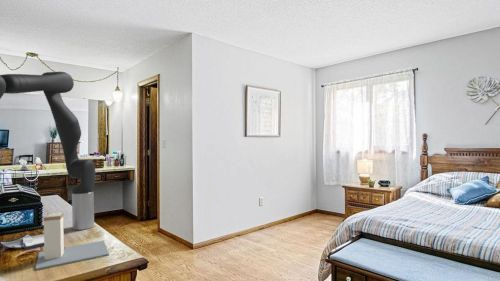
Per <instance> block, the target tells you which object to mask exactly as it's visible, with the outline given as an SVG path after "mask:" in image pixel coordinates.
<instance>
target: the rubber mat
mask: <svg viewBox="0 0 500 281" xmlns="http://www.w3.org/2000/svg"><path fill="white" fill-rule="evenodd" d="M109 255H110V253H109V250H108V248H107V245H106V243H105V240H99V241H93V242H88V243H87V242H86V243H82V244H75V245H70V246H66V247H65V246H64V253H63V255H62V257H61V258H54V259H47V260H45V258H44V250H43V251H39V252H38V256H37V261H36V265H35V271H39V270H44V269H49V268H54V267H58V266H64V265H68V264H73V263H74V264H75V263H78V262H84V261H88V260H93V259H97V258H103V257H107V256H109Z"/></svg>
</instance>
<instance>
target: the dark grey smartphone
mask: <svg viewBox="0 0 500 281" xmlns="http://www.w3.org/2000/svg"><path fill="white" fill-rule="evenodd" d="M29 237H31V238H33V241H32V243H28V242H25V243H24V246H23V248H24V250H25V251H26V250H33V249H36V248H42V247H43V248H44V233H42V234H41V233H40V234H36V235H30V236H29Z"/></svg>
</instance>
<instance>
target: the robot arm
mask: <svg viewBox="0 0 500 281" xmlns="http://www.w3.org/2000/svg"><path fill="white" fill-rule="evenodd" d="M74 84H75V83H74V79H73V77H72V75H71V74H70V73H67V72H65V71H45V72H43V73H42V74H27V73H26V74H25V73H6V74H5V73H4V74H0V100H1V98H2V97H3V95H5V94H11V95H12V94H26V93H34V92H43V94H44V96H45V99H46V102H47V104H48V105H49V108H50V111H51V114H52V117H53V120H54V124H55V127H56V128H55V129H56V131H57V135H58V137H59V140H60V144H61V147H62V148H61V149H62V152H63V157H64V161H65V168H66V172H67V175H68V176H69V177H70V178H72V179H80V182H79V183H78V184H77V185H75V186H73V187H72V188H71V214H72V218H71V219H72V224H71V226H72V230H75V231H82V230H84V231H85V230H88V229H91V228H93V227H94V226H95V207H94V206H95V204H94V203H95V202H94V201H95V196H94V188H95V184H96V164H95V162H94V161H93V160H91V159H80V158H79V155H78V146H79V143H80V141H81V137H82V129H81V125H80V122H79V119H78V118H77V116H76V115H75V114H74V113H73V111H71V109H69V107H68V106H67V105H66V104H65V102H64V100H63V97H62V95H61V94H65V93H66V94H67V93H69V92H71V91H73V90H72V89H73V88H74Z"/></svg>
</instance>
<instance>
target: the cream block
mask: <svg viewBox="0 0 500 281" xmlns="http://www.w3.org/2000/svg"><path fill="white" fill-rule="evenodd" d="M43 234H44V246H43V251H44V258H45V260H47V259H54V258H61V257H62V255H63V253H64V247H65V244H64V241H65V239H64V236H65V234H64V212H58V213H57V212H55V213H48V214H46V215H44V217H43Z"/></svg>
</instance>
